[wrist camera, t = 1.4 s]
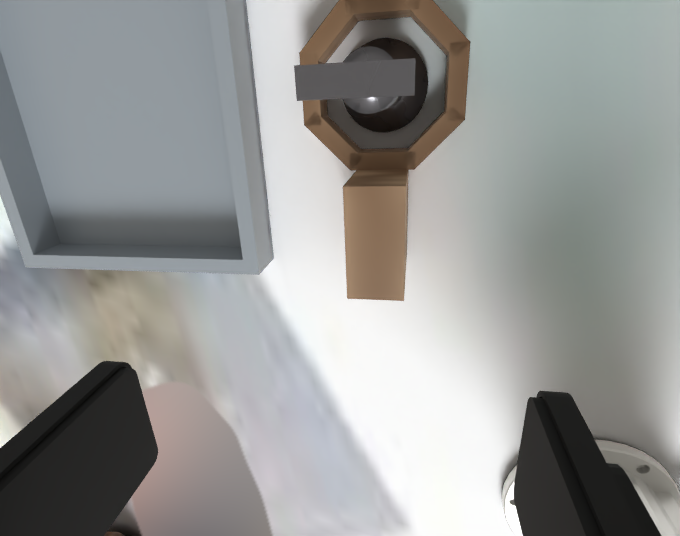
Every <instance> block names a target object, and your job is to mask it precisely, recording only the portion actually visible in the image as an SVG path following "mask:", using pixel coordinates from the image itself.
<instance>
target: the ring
mask: <svg viewBox="0 0 680 536" xmlns="http://www.w3.org/2000/svg"><path fill="white" fill-rule="evenodd" d="M401 17H411V18H412V19H413V20H414V21H415V22H416V23H417V24H418V25H419V26H420V27H421V28H422V30H423V31H424V32H425V33H426V34H427V35H428V36H429V37H430V38H431V39H432V40H433V41H434V43H435V44H436V45H437V46H438V47H439V48H440V49H441V50H442V51H443V52H444V53H445V54H446V56H447V63H446V83H445V103H444V112H443V113H442V114H441V115H440V116H439V117H438V118H437V119H436V120H435V121H434V122H433V123H432V124H431V125H430V126H429V127H428V128H427V129H426V130H425V131H424V132H423V133H422V134H421V135H420V136H419V137H418V138H417V139H416V140H415V141H414V142H413V143H412V144H411V145H410V146H409V148H386V149H361V148H360V147H359V146H358V145H357V144H356V143H355V142H354V141H353V140H352V139H351V138H350V137H349V136H348V135H347V134H346V133H345V132H344V131H343V130H342V129H341V128H340V127H339V126H338V125H337V124H336V123H335V122H334V121H333V120H332V119H331V118H330V117H329V116H328V112H327V100H306V101H303V111H304V126H306V127H307V128H308V129H309V130H310V131H311V132H312V133H313V134H314V135H315V136H316V137H317V138H318V139H319V140H320V141H321V142H322V143H323V144H324V145H325V146H326V147H327V148H328V149H329V150H330V151H331V152H332V153H333V154H334V155H336V156H337V157H338V158H339V159H340V160H341V161H342V162H343V163H344V164H345V165H346V166H347V167H348V168H349V169H350V170H357V171H356V172H355V173H354V174H353V175H352V177H351V178H350V179H349V180H348V181H347V183H346V184H345V185H344V186H343V199H344V226H345V252H346V278H347V298H348V299H373V300H399V301H404V289H405V273H406V257H407V214H408V170H410V169H413V170H414V169H415V168H416V167H417V166H418V165H419V164H420V163H421V162H422V161H423V160H424V159H425V158H426V157H427V156H428V155H429V154H430V153H431V152H432V151H433V150H434V149H435V148H436V147H437V146H438V145H440V144H441V143H442V142H443V141H444V140H445V139H446V138H447V137H448V136H449V135H450V134H451V133H452V132H453V131H454V130H455V129H456V128H457V127H458V126H459V125H460V124H461V123H462V122H463V121H464V120H465V110H466V95H467V81H468V66H469V51H470V43H471V42H470V41H469V40H468V39H467V38H466V37H465V36H464V35H463V33H462V32H461V31H460V30H459V29H458V28H457V27H456V26H455V25H454V23H453V22H452V21H451V20H450V19H449V18H448V17H447V16H446V15H445V14H444V12H443V11H442V10H441V9H440V8H439V7H438V6H437V5H436V4H435V2H434V1H433V0H339V1H338V3H337V4H336V5H335V7H334V8H333V9H332V11H331V12H330V13H329V15H328V16H327V17H326V19H325V20H324V21H323V23H322V24H321V25H320V27H319V28H318V29H317V31H316V32H315V33H314V35H313V36H312V37H311V39H310V40H309V41H308V43H307V44H306V45H305V47H304V48H303V49H302V51H301V52H299V54H300V65H313V64H325V63H326V62H327V60H328V59H329V58H330V57H331V55H332V54H333V53H334V52H335V50H336V49H337V48H338V46H339V45H340V44H341V43H342V41H343V40H344V39H345V38H346V36H347V35H348V34H349V33H350V31H351V30H352V29H353V27H354V26H355V25H356V24H357V22H358V21H363V20H376V19H388V18H401Z"/></svg>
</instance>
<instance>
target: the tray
mask: <svg viewBox="0 0 680 536" xmlns="http://www.w3.org/2000/svg"><path fill="white" fill-rule="evenodd" d="M0 195H1V198H2V201H3V204H4V207H5V210H6V212H7V215H8V218H9V221H10V224H11V227H12V230H13V232H14V235H15V238H16V241H17V244H18V247H19V249H20V252H21V255H22V258H23V261H24V264H25V266H26V267H28V268H61V269H94V270H127V271H160V272H193V273H226V274H258V275H259V274H260V273H261V272H262V271H263V270H264V269H265V268H266V266H267V265H268V264H269V263H270V262H271V261H272V260H273V259H274V257H273V247H272V238H271V229H270V220H269V210H268V201H267V192H266V183H265V173H264V164H263V155H262V146H261V136H260V127H259V118H258V109H257V99H256V90H255V81H254V72H253V62H252V53H251V44H250V35H249V25H248V16H247V7H246V0H0Z"/></svg>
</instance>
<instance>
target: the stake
mask: <svg viewBox="0 0 680 536" xmlns="http://www.w3.org/2000/svg"><path fill="white" fill-rule="evenodd" d="M294 68H295V82H296V95H297V101H306V100H328V99H343V101H344V104H345V107H346V109H347V111H348V112H349V114H350V115H351V117H352V118H353V119H354V120H355V121H356V122H357V123H358V124H360V125H361V126H363V127H364V128H366V129H369V130H372V131H376V132H390V131H394V130H397V129H400V128H402V127H403V126H405V125H407V124H408V123H409V122H410V121H412V120H413V119H414V118H415V116H416V115H417V114H418V113H419V111H420V110H421V108H422V106H423V104H424V101H425V98H426V95H427V89H428V77H427V71H426V68H425V65H424V63H423V60H422V59H421V57H420V56H419V54H418V53H417V52H416V51H415V50H414V49H413V48H412V47H411V46H409V45H408V44H407V43H405V42H403V41H400V40H397V39H392V38H382V39H376V40H373V41H371V42H368V43H366V44H365V45H363V46H362V47H361V48H359V49H357V50H355V51H353V52H352V53H351V54H349V55H348V56H347V58H346V59H345V60H344V62H343V63H329V64H313V65H296V66H294Z"/></svg>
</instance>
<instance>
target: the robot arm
mask: <svg viewBox="0 0 680 536" xmlns="http://www.w3.org/2000/svg"><path fill="white" fill-rule="evenodd" d="M157 455H158V448H157V444H156V440H155V437H154V433H153V430H152V426H151V423H150V419H149V415H148V412H147V409H146V405H145V401H144V398H143V394H142V390H141V387H140V383H139V380H138V376H137V373H136V371H135V370H134V369H132V367H131V366H130V365H129V364H128V363H125V362H113V361H104V362H101V363H100V364H98V365H97V366H96V367H95V368H94V369H92V370H91V371H90V372H89V373H88V374H87V375H85V376H84V377H83V378H82V379H81V380H80V381H78V382H77V383H76V384H75V385H74V386H73V387H71V388H70V389H69V390H68V391H67V392H65V393H64V394H63V395H62V396H61V397H60V398H58V399H57V400H56V401H55V402H54V403H53V404H51V405H50V406H49V407H48V408H47V409H46V410H44V411H43V412H42V413H41V414H40V415H39V416H37V417H36V418H35V419H34V420H33V421H32V422H30V423H29V424H28V425H27V426H26V427H25V428H23V429H22V430H21V431H20V432H19V433H18V434H16V435H15V436H14V437H13V438H12V439H11V440H9V441H8V442H7V443H6V444H5V445H4V446H2V447H1V448H0V536H104V535H105V533H106V532H107V531H108V529H109V528H110V526H111V525H112V523H113V522H114V521H115V519H116V518H117V516H118V515H119V513H120V512H121V511H122V509H123V508H124V506H125V505H126V503H127V502H128V501H129V499H130V498H131V496H132V495H133V493H134V492H135V491H136V489H137V488H138V486H139V485H140V484H141V482H142V481H143V479H144V478H145V476H146V475H147V474H148V472H149V471H150V469H151V468H152V466H153V465H154V463H155V461H156V459H157ZM502 503H503V508H504V512H505V517H506V519H507V522H508V524H509V526H510V528H511V529H512V530H513V532H514V533H515V534H516V535H517V536H680V492H679V490H678V487H677V485H676V483H675V482H674V480H673V479H672V478H671V476H670V475H669V473H668V472H667V470H666V469H665V468H664V467H663V466H662V465H661V464H660V463H659V462H658V461H656V460H655V459H654V458H652V457H651V456H649V455H647V454H646V453H644V452H643V451H641V450H638V449H636V448H633V447H631V446H628V445H625V444H621V443H616V442H612V441H605V440H594V438H593V436H592V434H591V432H590V430H589V428H588V426H587V424H586V423H585V421H584V419H583V417H582V415H581V413H580V411H579V409H578V407H577V405H576V403H575V402H574V400H573V398H572V396H571V395H570V394H569V393H563V392H548V391H539V392H538V394H537V398H534V397H530V398H529V399H528V402H527V408H526V414H525V420H524V426H523V432H522V439H521V445H520V451H519V457H518V463H517V465H516V466H515V467H514V468H513V470H512V471H511V472H510V473H509V475H508V477H507V479H506V481H505V483H504V487H503V491H502Z"/></svg>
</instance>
